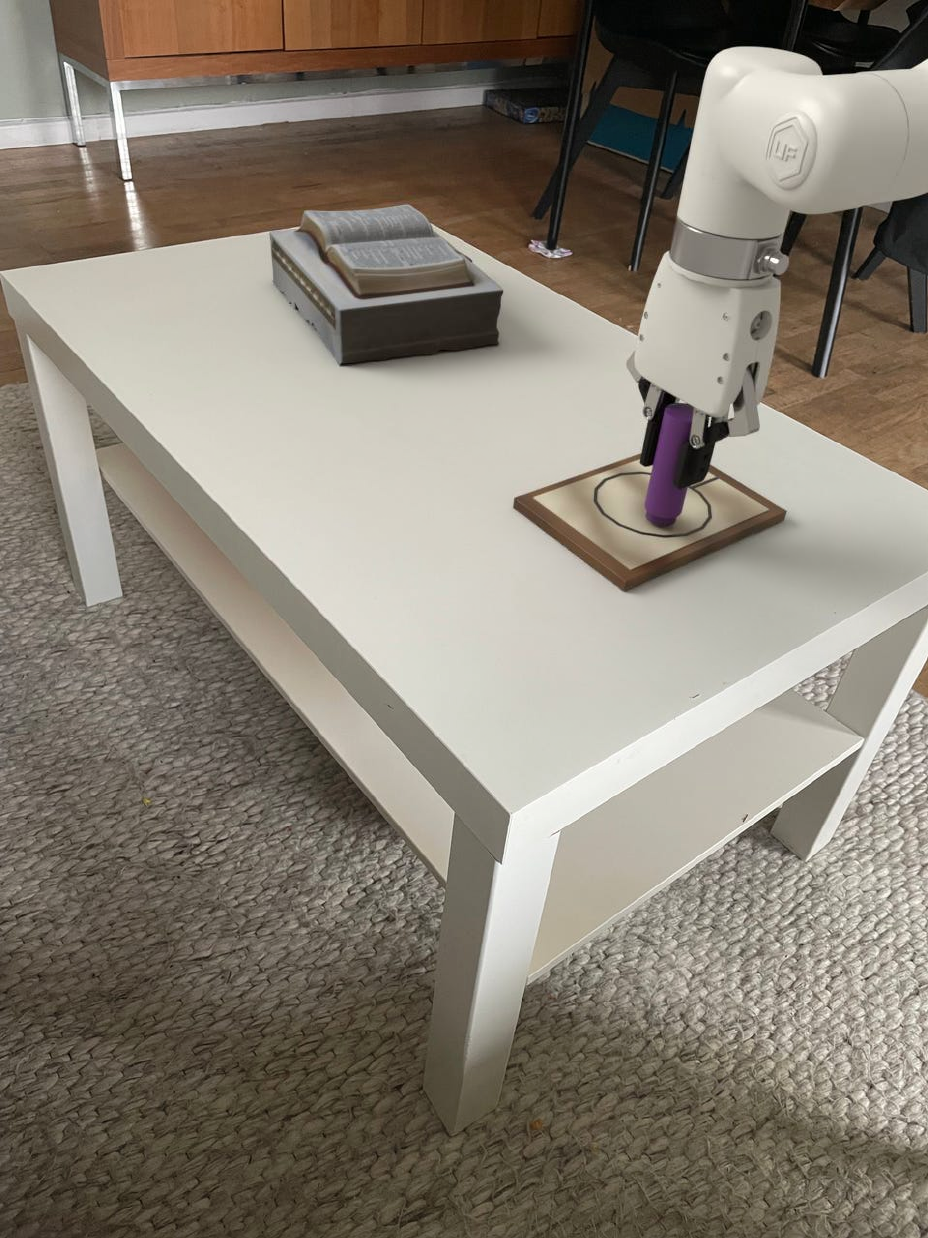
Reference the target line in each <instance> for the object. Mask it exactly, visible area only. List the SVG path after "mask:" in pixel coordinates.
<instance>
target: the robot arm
mask: <svg viewBox="0 0 928 1238" xmlns="http://www.w3.org/2000/svg"><path fill="white" fill-rule="evenodd" d="M821 69H822V68H821V66H820V65H819V64H818V63H817V62H816V61H815V60H813V59H812V58H810V57H808V56H806V55H803V54H800V53H797V52H792V51H789V50H784V49H779V48H773V47H764V46H734V47H733V46H732V47H729V48H726V49H722V50H721V51H719V52H718V53H716V55H714V57H712V59H711V61H710V62H709V64H708V65H707V68H706V71H705V75H704V79H703V83H702V87H701V93H700V97H699V103H698V107H697V113H696V117H695V123H694V126H693V127H694V128H693V132H692V137H691V143H690V149H689V153H688V157H687V162H686V167H685V172H684V177H683V182H682V188H681V193H680V197H679V203H678V208H677V212H676V216H675V222H674V226H673V231H672V236H671V241H670V245H669V246H670V247H669V250H667V251H666V252H665V253H664V254H663V255H662V258H661V260H660V263H659V265H658V267H657V270H656V273H655V275H654V278H653V279H652V283H651V286H650V289H649V292H648V295H647V298H646V301H645V305H644V308H643V311H642V312H643V313H642V316H641V321H640V325H639V329H638V333H637V337H636V342H635V350H634V351H633V352H632V354H631V355H630V356H629V357H628V359H627V360H626V365H625V366H626V368H627V370H628V372H629V373H630V375H631V376H632V378H633V380H634V382H636V384H637V386H638V387H637V388H638V391H639V394H640V396H641V399H642V401H643V407H642V415H643V417H644V418H645V420H647V423H646V428H645V433H644V438H643V442H642V448H641V452H640V453H641V457H640V464H641V465H643V466H644V467H649V466H652V465H653V462H654V458H655V453H656V448H657V444H658V439H659V435H660V430H661V426H662V421H663V416H664V412H665V408H666V407H667V406H668V405H670V404H673V403H680V401H682V402H683V403H686V404H689V405H691V406H692V407H694V411H693V419H692V426H691V433H690V441H688V442H686V443H684V444H683V445H682V447H681V451H680V455H679V459H678V464H677V468H676V472H675V476H674V481H673V483H674V486H675V487H676V488H678V489H683V488H685V487H688V486H691V485H693V484H696V483H699V482H701V481H703V480H704V479H705V477H706V475H707V473H708V470H709V466H710V465H711V462H712V458H713V454H714V451H715V447H716V443H718V442H721V441H723V440H725V439H726V438H737V437H747V436H750V435H753V434H755V433H757V432H759V431H760V428H761V424H760V418H759V417H760V416H759V410H758V406H759V405H760V404H761V402H762V400H763V398H764V394H765V391H766V387H767V383H768V380H769V377H770V372H771V366H772V362H773V358H774V352H775V348H776V341H777V336H778V329H779V322H780V321H779V320H780V315H781V313H780V311H781V297H782V281H781V280H780V279H778V278H776V277H774V275H777V276H781V275H783V274H784V273H785V272H786V271H787V270H788V267H789V264H790V258H789V256H788V255H786V254H783V253H782V251H781V248H782V244H783V240H784V235H785V229H786V227H787V223H788V220H789V215H790V212H791V211H792V212H795V213H798V214H803V215H822V214H831V213H835V212H836V213H837V212H841V211H847V210H853V209H858V208H861V207H865V206H870V205H875V204H882V203H889V202H896V201H902V200H909V199H911V198H915V197H919V196H922V195H924V194H928V58H926V59H925V60H924V61H922V62H921V63H919V64H917V65H915V66H913V67H912V68H907V69H905V68H902V69H901V68H900V69H888V70H873V71H860V72H859V71H858V72H856V73H841V74H829V75H828V74H826V75H823V72H822V70H821ZM731 404H732V410H733V417H730V418H729V413H730V407H731ZM709 423H710V424H709Z"/></svg>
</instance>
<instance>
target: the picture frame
mask: <svg viewBox="0 0 928 1238" xmlns="http://www.w3.org/2000/svg"><path fill="white" fill-rule="evenodd" d="M640 457H641V452H640V453H637V454H635V455H632V456H629V457H625V458H624V459H620V460H617V461H615V462H612V463H610V464H607V465H604V466H601V467H597V468H595V469H592V470H589V471H586V472H584V473H580V474H578V475H575V476H573V477H569V478H566V479H564V480H561V481H558V482H556V483H552V484H550V485H547V486H544V487H541V488H537V489H535V490H532V491H529V492H527V493H523V494H521V495H518V496H516V497H514V498H513V505H512V507H513V508H514V509H515V510H516V511H517V512H519V513H520V514H521V515H522V516H524V517H526V518H527V519H528V521H530V522H532V523H533V524H535V525H536V526H537V527H538V528H540V530H542V531H544V532H545V533H546V534H548V535H549V536H550V537H552V538H553V539H554V540H556V541H557V542H558V543H560V545H562V546H563V547H564V548H566V549H567V550H569V551H570V552H571V553H572V554H573V555H575V556H577V557H578V558H579V559H580V560H582V561H583V562H584V563H586V564H587V565H588V566H590V567H591V568H592V569H594V570H595V571H596V572H597V573H599V574H600V575H601V576H603V578H605V579H607V580H608V581H609V582H611V583H612V584H614V585H615V586H616V587H617V588H618V589H620V590H621V591H622V592H626V591H628V590H630V589H633V588H635V587H637V586H639V585H641V584H644V583H646V582H648V581H650V580H652V579H655V578H657V577H659V576H661V575H664V574H666V573H668V572H671V571H673V570H675V569H677V568H680V567H682V566H685V565H687V564H689V563H691V562H694V561H696V560H697V559H700V558H702V557H705V556H707V555H709V554H711V553H713V552H716V551H718V550H720V549H723V548H725V547H727V546H729V545H731V544H734V543H736V542H738V541H741V540H742V539H744V538H747V537H750V536H752V535H754V534H757V533H758V532H760V531H761V532H762V531H763V530H766V529H767V528H770V527H771V526H775V525H776V524H778V523H781V522H783V521H785V518H786V515H787V512H788V510H785V508H782V507H781V506H779V505H778V504H777V503H774V502H773V501H772V500H769V499H768V498H767V497H765V496H763V495H762V494H761V493H758V492H756V491H755V490H754V489H752V488H750V487H748V486H746V485H745V484H744V483H741V482H740V481H739V480H737V479H735V478H734V477H732V476H730V475H728V474H727V473H725V472H723V471H722V470H720V469H718V468H717V467H715V466H714V465H712V464H710V466H709V470H708V473H707V475H706V477H705V479H704V480H703V481H701V482H699V483H696V484H693V485H691V486H688V489H687V493H686V497H685V501H684V505H683V509H682V513H681V514H680V515H679V516H677V518H676V522H675V523H674V524H673V525H671V526H658V525H655V524H652V523H651V522H649V521H648V520H647V519H646V511H647V510H646V509H645V507H644V503H645V499H646V494H647V489H648V485H649V480H650V476H651V471H652V467H653V465H652V466H649V467H644V466H643V465H641V464H640Z"/></svg>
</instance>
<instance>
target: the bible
mask: <svg viewBox="0 0 928 1238" xmlns="http://www.w3.org/2000/svg"><path fill="white" fill-rule="evenodd" d="M268 234H269V241H270V256H271V257H270V258H271V266H272V283H273V284H274V285H275V287H276V288H277V289H278V290H279V291H280V292H282V293H283V294H284V295H285V299H286V300H287V303H288V304H291V306H292V307H293V309H295V308H296V307H297V309H298V311H299V313H300V315H301V317H302V319H304V320H305V321H308V322H309V325H310V326H312V325H314V327H315V329H316V332H317V334H318V335H319V336H320V340H321V341H322V342H323V343H324V345H325V347H326V348H327V349H328V351H329V352H330V353H331V355H332V356H333V358H335V360H336V361H337V364H338V366H339V367H340V366H341V364H352V363H354V364H357V363H360V362H365V361H372V360H373V361H374V360H375V361H385V360H386V361H387V360H389V359H390V358H399V357H400V358H401V357H406V356H409V357H410V356H415V355H434V354H438V353H439V352H438V351H442V350H446V351H460V350H461V351H462V350H465V349H471V348H472V349H474V348H479V347H483V346H490V345H495V344H497V345H499V344H500V341H499V337H500V331H499V330H498V319H499V316H500V312H501V306H502V297H503V294H504V289H503V288H502V287H501V285H499V284H498V283H497V282H496V281H495V280H493V279H492V278H491V277H490V276H489V275H488V274H486V273H485V272H484V271H483V270H482V269H480V267H479V266H477V265H476V264H475V263H473V261H474V260H472V259H471V258H470V257H468V256H467V255H465V254H464V253H462V252H461V251H460V250H458V249H457V248H456V247H454V246H453V245H452V244H451V243H450V242H449V241H448V240H446V239H445V238H444V237H443V236H441V235H440V234H438V233H437V231H435V230H434V228H433V226H432V223H431V221H430V220H429V219H428V218H427V216H426V215H425V214H424V213H422V212H421V211H419V210H417V209H416V208H415V207H414V206H412V205H410V204H402V205H395V206H389V207H388V206H387V207H382V208H381V207H380V208H373V209H360V210H359V209H358V210H357V209H355V210H314V209H313V210H312V209H307V210H304V211H303V214H302V218H301V223H300V226H299V228H291V229H284V230H271V231H269V232H268Z"/></svg>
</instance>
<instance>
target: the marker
mask: <svg viewBox="0 0 928 1238" xmlns="http://www.w3.org/2000/svg"><path fill="white" fill-rule="evenodd" d="M693 411H694V407H692V406H691V405H689V404H687V403H685V402H679V403H673V404H670V405H668V406H667V407H666V408H665V412H664V416H663V421H662V426H661V430H660V435H659V439H658V444H657V448H656V453H655V458H654V462H653V467H652V471H651V476H650V480H649V485H648V489H647V494H646V499H645V503H644V507H645V509H646V510H647V511H646V519H647V520H648V521H649V522H651V523H652V524H655V525H658V526H671V525H673V524H674V523H675V522H676V518H677V516H679V515H680V514H681V513H682V509H683V505H684V501H685V497H686V493H687V489H688V487H685V488H683V489H678V488H676V487H675V486H674V483H673V481H674V476H675V472H676V468H677V464H678V459H679V455H680V451H681V447H682V445H683V444H684V443H686V442H688V441H690V433H691V426H692V419H693Z"/></svg>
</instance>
